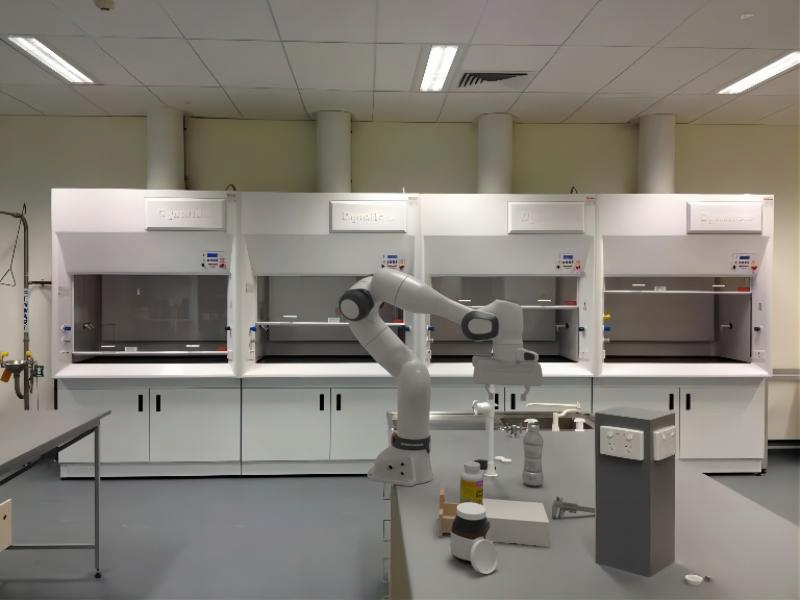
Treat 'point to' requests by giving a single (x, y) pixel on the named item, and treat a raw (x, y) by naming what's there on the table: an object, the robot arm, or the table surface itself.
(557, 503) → the caliper
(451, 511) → the tray
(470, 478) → the supplement bottle
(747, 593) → the table surface
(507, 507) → the sleeve
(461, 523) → the spread jar
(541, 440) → the plastic bottle
